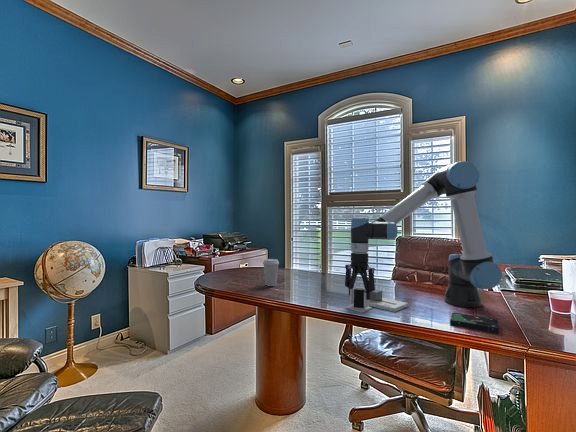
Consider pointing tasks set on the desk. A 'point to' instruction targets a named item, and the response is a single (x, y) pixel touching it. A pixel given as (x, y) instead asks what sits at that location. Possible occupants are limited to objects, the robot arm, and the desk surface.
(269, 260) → the coffee cup
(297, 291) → the desk surface
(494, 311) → the desk surface
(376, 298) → the switch tab
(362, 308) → the mat
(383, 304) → the switch panel
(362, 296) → the ink cartridge
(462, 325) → the disk drive
